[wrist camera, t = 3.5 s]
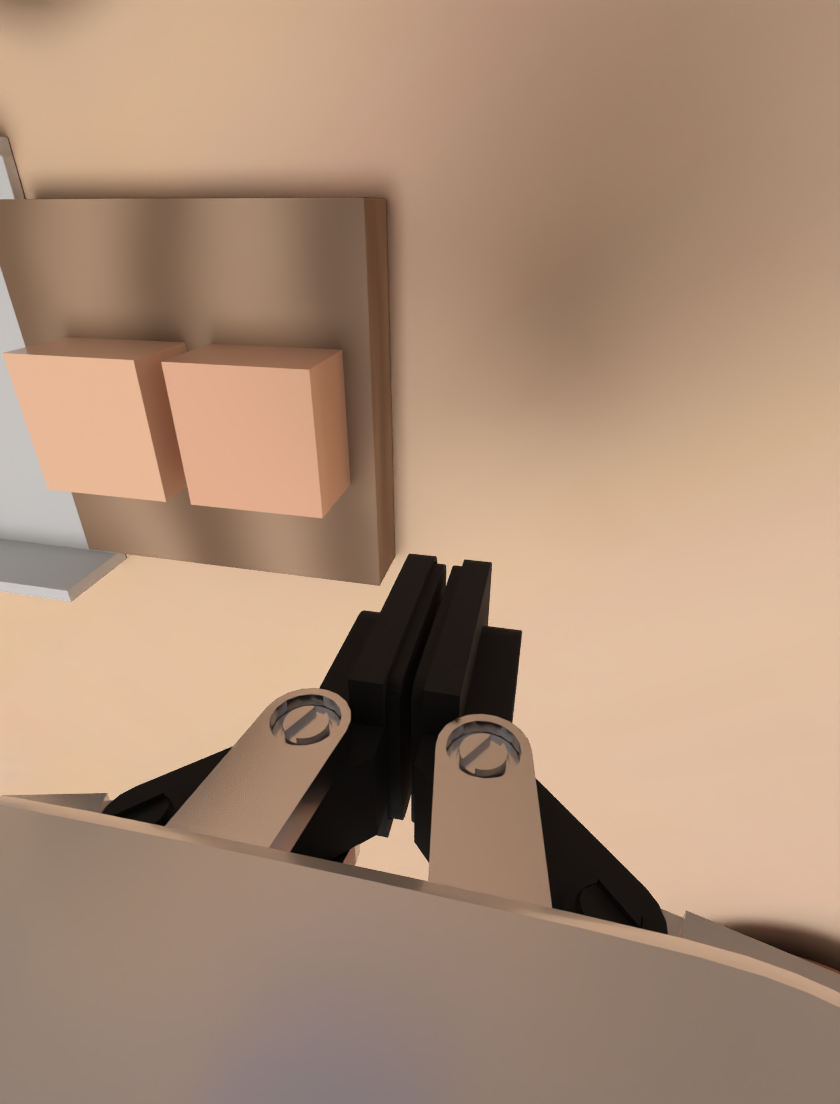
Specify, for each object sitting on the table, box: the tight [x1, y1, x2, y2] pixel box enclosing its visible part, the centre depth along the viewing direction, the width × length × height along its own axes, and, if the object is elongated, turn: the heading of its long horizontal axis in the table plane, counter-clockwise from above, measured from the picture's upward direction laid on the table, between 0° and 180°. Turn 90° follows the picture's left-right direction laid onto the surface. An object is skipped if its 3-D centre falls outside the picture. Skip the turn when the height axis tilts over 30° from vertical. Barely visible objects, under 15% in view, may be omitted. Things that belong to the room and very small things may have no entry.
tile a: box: [161, 344, 351, 518], centre depth 21 cm, size 5×5×3 cm
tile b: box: [2, 337, 187, 502], centre depth 22 cm, size 5×5×3 cm
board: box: [0, 198, 395, 586], centre depth 24 cm, size 14×14×2 cm
